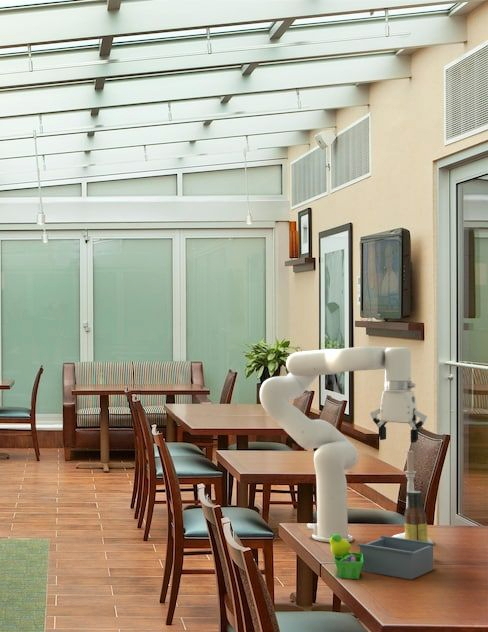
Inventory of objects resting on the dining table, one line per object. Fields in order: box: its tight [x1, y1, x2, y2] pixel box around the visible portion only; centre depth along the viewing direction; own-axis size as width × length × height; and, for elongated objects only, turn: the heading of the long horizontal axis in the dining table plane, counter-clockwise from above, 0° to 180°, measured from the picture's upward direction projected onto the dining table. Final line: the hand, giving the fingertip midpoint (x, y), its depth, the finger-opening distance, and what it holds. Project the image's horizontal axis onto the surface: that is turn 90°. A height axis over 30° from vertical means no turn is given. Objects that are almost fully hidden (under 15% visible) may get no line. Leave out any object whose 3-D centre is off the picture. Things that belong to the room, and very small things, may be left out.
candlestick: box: [391, 450, 434, 543], centre depth 312 cm, size 13×13×30 cm
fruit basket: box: [329, 534, 363, 580], centre depth 270 cm, size 11×9×11 cm
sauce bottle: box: [403, 490, 429, 542], centre depth 291 cm, size 7×6×20 cm
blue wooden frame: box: [357, 534, 436, 580], centre depth 275 cm, size 15×16×8 cm
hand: (398, 440), depth 301 cm, fingers open, 9 cm apart
